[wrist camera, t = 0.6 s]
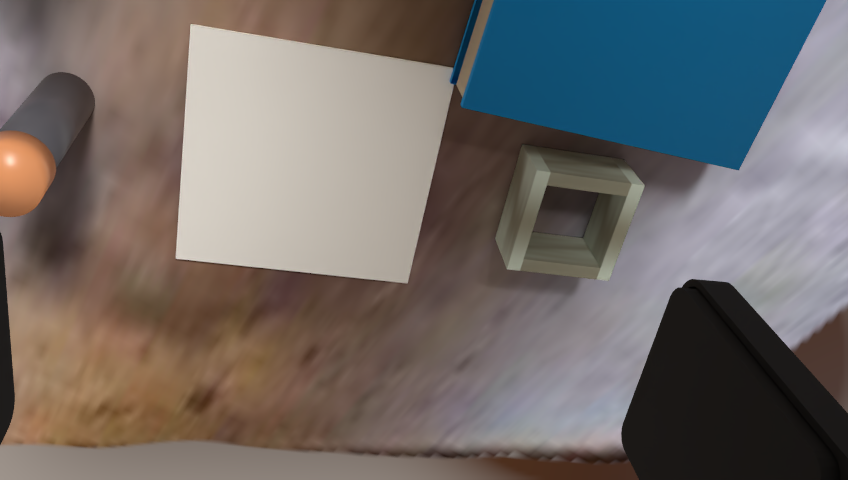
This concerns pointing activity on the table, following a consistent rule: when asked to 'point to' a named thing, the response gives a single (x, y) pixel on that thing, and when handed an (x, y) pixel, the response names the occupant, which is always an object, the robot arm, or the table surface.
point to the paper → (306, 155)
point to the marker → (40, 140)
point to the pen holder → (605, 224)
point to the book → (635, 68)
